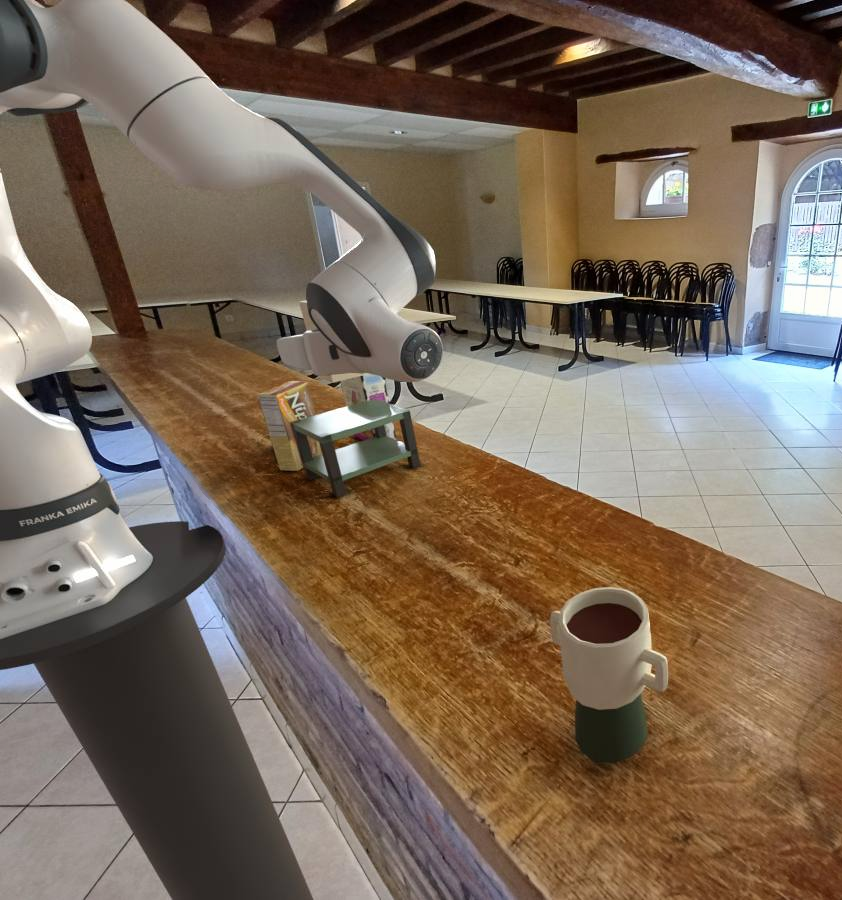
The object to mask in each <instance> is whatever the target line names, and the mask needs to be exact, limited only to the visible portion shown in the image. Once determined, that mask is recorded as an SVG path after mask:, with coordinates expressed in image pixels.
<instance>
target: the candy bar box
mask: <svg viewBox="0 0 842 900" xmlns="http://www.w3.org/2000/svg"><path fill="white" fill-rule="evenodd" d="M339 383H340V386H341V391H342V394H343V399H344V403H345V407H347V406H351V405H354V404H358V403H361V402H365V401H369V400H372V399H377V400H380V401H383V402H386V403H389V404H390V399H389V394H388V389H387V385H386V378H384V377H381V376H379V375H372V374H369V373H364V375H363V376H359V377H355V378H350V379H346V380H342V381H339ZM394 423H395V422H392V423H389V424H385V430H386V435H387V436H388V437H391V438H393V439H395V440H398V438H397V433H396V428H395V424H394ZM352 436H353V438H356V439H358V440H361V441H364V440H367V439H370V438H373V437H376V436H375V432H374V428H373V429H369V430H366V431H363V432H360V433H357V434H353V435H352Z"/></svg>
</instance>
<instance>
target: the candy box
mask: <svg viewBox="0 0 842 900" xmlns="http://www.w3.org/2000/svg"><path fill="white" fill-rule="evenodd" d="M310 391H311V390H310V387H309V383H308V381H303V380H290V381H287V382H285V383H282V384H280V385H277V386H275V387H273V388H270V389H268V390H265V391H263V392H261V393H258V395H257V397H258V398H259V400H260V403H259V405H260V404H261V406H260V408H261V407H262V410H263V413H262V415H263V414H264V416H263V418H264V417H265V420H264V422H265V421H266V423H265V425H266V424H267V427H268V430H269V433H268V435H269V434H270V437H271V440H270V442H271V441H272V443H271V445H272V444H273V446H272V448H273V450H274V455H275V457H276V460H277V464H278V467H279V470H280V471H285V472H286V471H287V472H288V471H291V472H298V471H300V470H301V469H304V468H303V465H302V462H301V458H300V455H299V451H298V448H297V444H296V441H295V437H294V434H293V430H292V427H291V424H290V422H293V421H296V420H300V419H304V418H307V417H311V416H314V415H317V414H316V411H315V406H314V403H313V399H312V395H311V392H310ZM259 400H258V401H259ZM262 410H261V411H262ZM267 427H266V428H267ZM268 430H267V431H268ZM270 437H269V438H270ZM307 438H308V442H309V446H310V449H311V453H312V456H313V457H315V456H318V455H321V454H322V451H321V448H320V444H319V442H318V441H316V440H314V439H312V438H310V437H308V436H307Z"/></svg>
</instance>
